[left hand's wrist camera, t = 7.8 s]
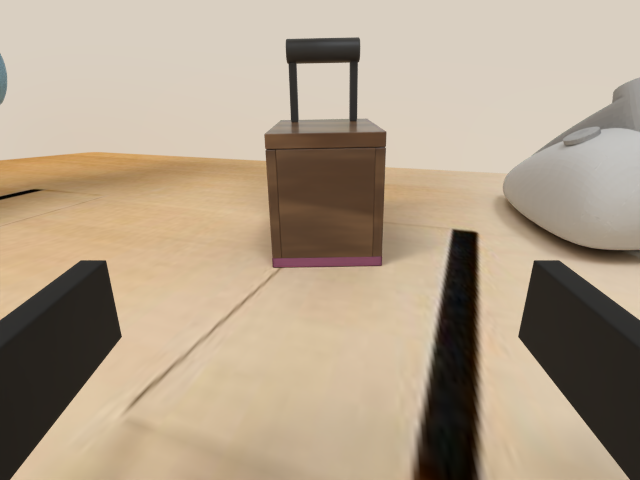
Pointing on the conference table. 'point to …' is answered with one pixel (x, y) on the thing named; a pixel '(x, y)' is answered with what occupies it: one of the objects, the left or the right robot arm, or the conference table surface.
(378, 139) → the lid
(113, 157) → the conference table surface
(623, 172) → the projector
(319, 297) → the conference table surface
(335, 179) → the chest
